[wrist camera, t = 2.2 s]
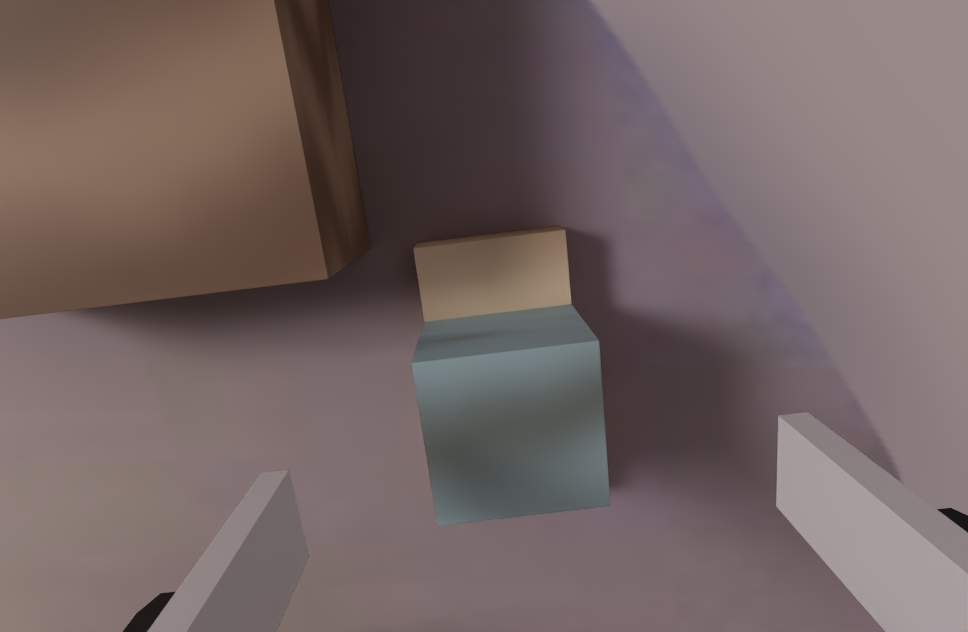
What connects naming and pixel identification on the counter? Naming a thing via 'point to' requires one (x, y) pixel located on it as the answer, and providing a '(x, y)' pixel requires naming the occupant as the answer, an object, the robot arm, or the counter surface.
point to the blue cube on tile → (507, 379)
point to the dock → (170, 151)
